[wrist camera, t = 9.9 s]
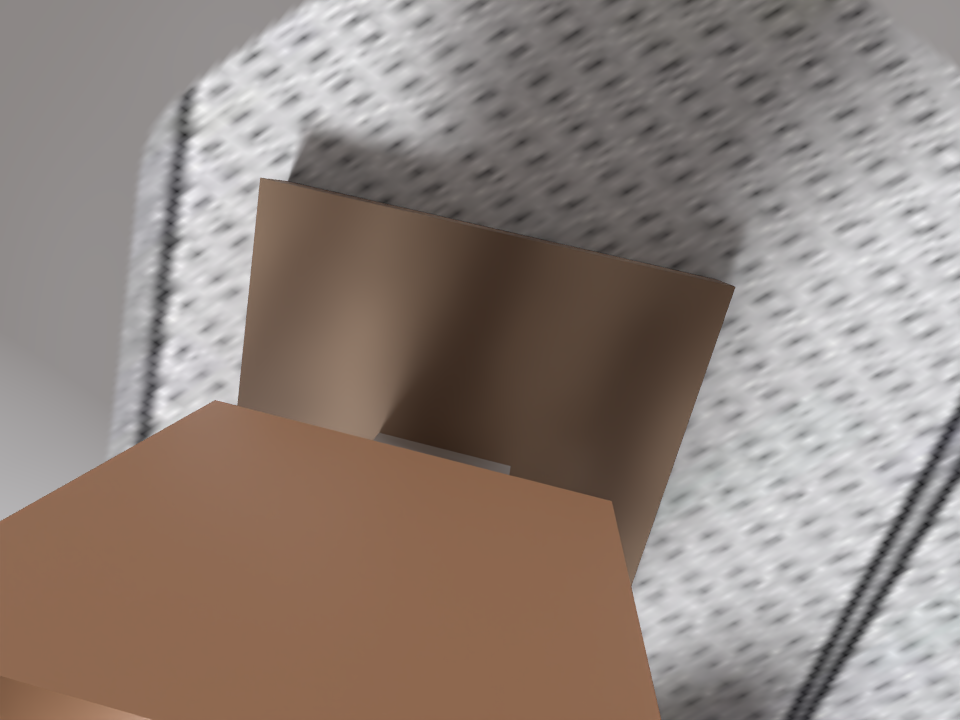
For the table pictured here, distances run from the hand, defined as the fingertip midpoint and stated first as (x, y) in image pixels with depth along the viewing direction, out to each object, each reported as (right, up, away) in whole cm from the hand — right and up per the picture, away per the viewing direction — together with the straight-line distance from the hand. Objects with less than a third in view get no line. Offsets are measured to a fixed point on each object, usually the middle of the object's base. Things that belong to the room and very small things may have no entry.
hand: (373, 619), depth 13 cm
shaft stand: (+1, +2, +9) cm, 10 cm away
